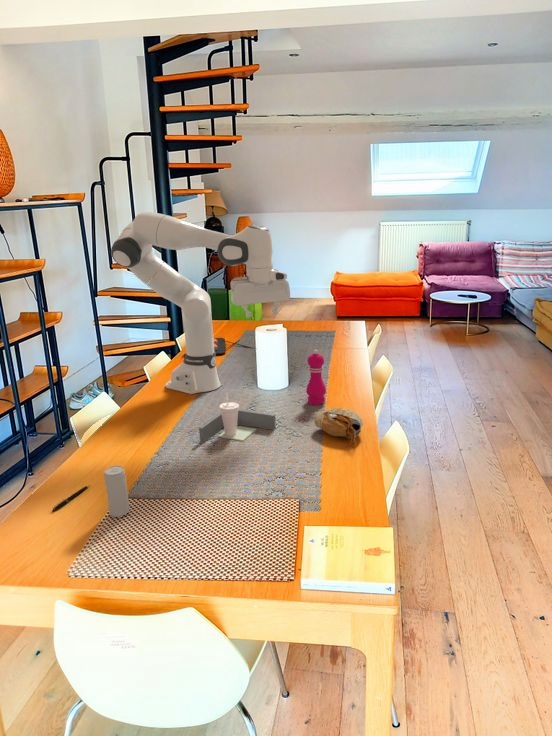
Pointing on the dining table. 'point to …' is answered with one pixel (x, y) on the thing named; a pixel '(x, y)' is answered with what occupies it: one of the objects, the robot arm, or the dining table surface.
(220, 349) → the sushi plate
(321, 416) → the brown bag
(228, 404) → the smoothie
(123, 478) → the beverage can
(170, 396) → the dining table surface
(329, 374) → the dining table surface
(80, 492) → the fountain pen
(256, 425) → the grey corner wall
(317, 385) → the pepper mill
